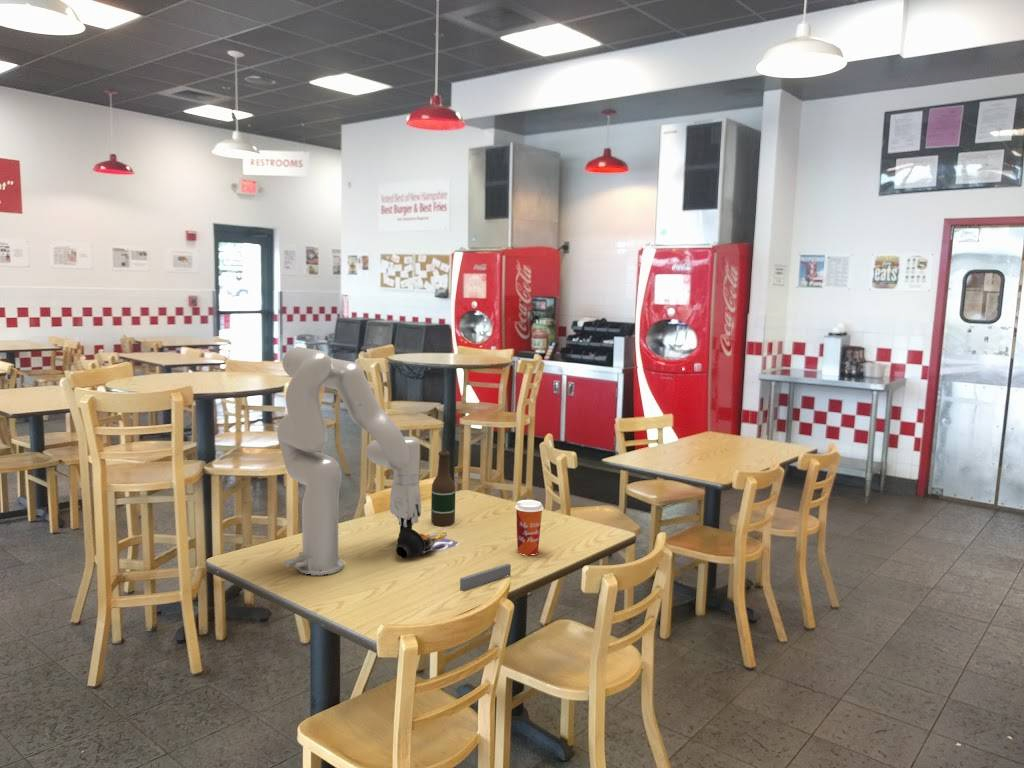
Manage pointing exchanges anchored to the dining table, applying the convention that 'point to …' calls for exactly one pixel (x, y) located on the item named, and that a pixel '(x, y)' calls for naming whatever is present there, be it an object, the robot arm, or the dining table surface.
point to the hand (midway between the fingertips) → (405, 538)
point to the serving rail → (484, 577)
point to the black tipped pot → (415, 543)
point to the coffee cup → (528, 526)
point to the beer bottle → (443, 494)
